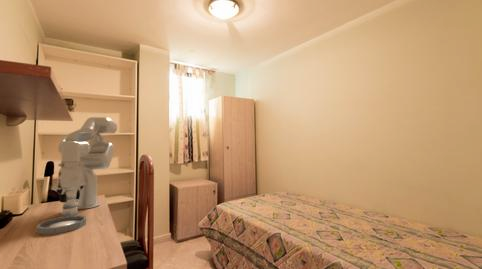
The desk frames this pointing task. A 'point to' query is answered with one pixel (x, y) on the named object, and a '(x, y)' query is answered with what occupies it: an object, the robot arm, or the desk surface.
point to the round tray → (61, 225)
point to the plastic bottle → (70, 202)
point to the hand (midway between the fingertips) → (69, 200)
